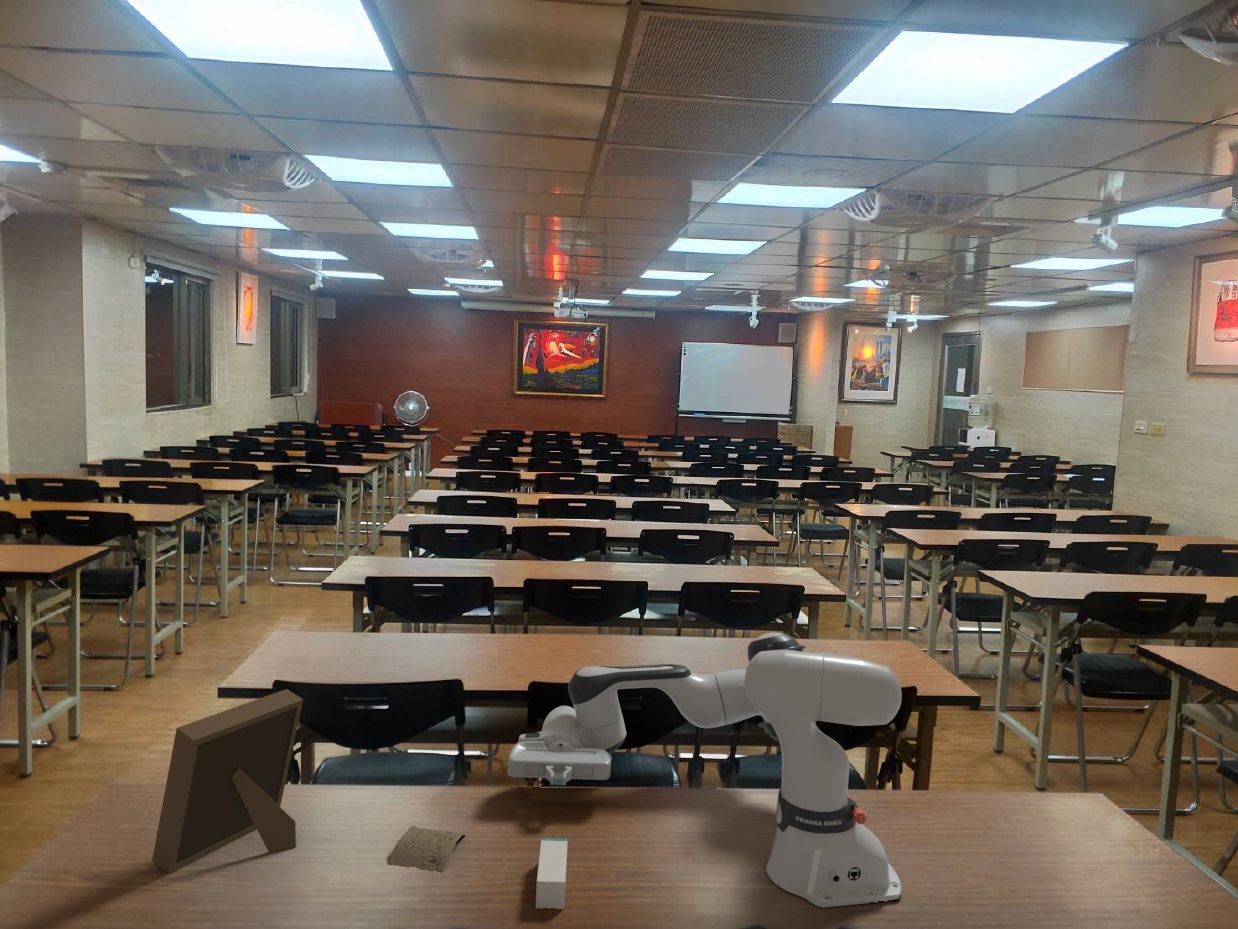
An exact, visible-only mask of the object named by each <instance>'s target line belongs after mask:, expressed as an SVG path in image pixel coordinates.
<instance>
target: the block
mask: <svg viewBox="0 0 1238 929" xmlns="http://www.w3.org/2000/svg"><path fill="white" fill-rule="evenodd" d="M540 839H541V841H540V849H539V858H538V868H537V877H536V891H535V892H536V893H535V894H536V895H535V909H544V908H548V909H547V910H550V909H551V908H555V909H554V910H565V901H566V899H565V897H566V883H567V881H566V880H567V863H568V862H567V860H568V843H569V841H568V840H569V839H568V838H553V837H552V838H551V837H541V838H540ZM538 907H539V908H538Z"/></svg>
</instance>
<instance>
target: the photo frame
mask: <svg viewBox="0 0 1238 929" xmlns="http://www.w3.org/2000/svg"><path fill="white" fill-rule="evenodd" d="M303 702H304V699H303V698H301V697H300V696H299V695H297V694H296V693H294V692H292V691H291V690H289V689H288V688H286V689H283V690H280V691H276V692H275V693H271V694H269V695H265V696H263V697H259V698H258V699H254V700H252V701H249V702H246V703H243V704H241V705H238V706H235V707H232V708H230V709H226V710H223V711H221V712H218V713H214V714H212V715H208V716H207V717H204V718H200V719H198V720H194V721H192V722H190V723H186V724H184V725H181V726H178V727H176V728H175V729H176V730H175V734H174V739H173V740H174V741H173V745H172V752H171V755H170V756H171V757H170V762H169V769H168V774H167V777H166V784H165V789H164V793H163V794H164V795H163V800H162V806H161V810H160V815H159V816H160V817H159V822H158V827H157V832H156V838H155V843H154V849H153V853H152V860H151V861H152V862H153V863H155V864H156V865H157V866H158V867H159V868H160V869H162V871H164V872H165V873H167V874H168V875H170V874H172V873H174V872H176V871H178V870H180V869H183V868H184V867H186V866H187V865H190V864H191V863H193V862H196V861H199V859H201V858H203V857H205V856H207V855H209V854H211V853H213V852H216V851H217V850H219V849H221V848H222V847H225V846H226V845H229V844H231V843H233V842H235V841H236V840H238V839H240V838H242V837H244V836H246V835H247V834H250V833H252V832H254V831H256V830H257V832H258V834H259V837H260V838H261V840H262V841H263V842H262V843H264V846H265V848H266V849H267V852H268V853H269V854H270V853H275V852H276V853H277V852H280V851H285V850H289V849H293V848H296V847H297V838H296V837H297V836H296V830H297V829H296V820H295V819H293V817H292V816H290V814H288V813H287V812H286V811H285V810H284V809H283V808H282V807H281V804H282V800H283V796H284V791H285V786H286V782H287V776H288V773H289V767H290V765H291V764H290V763H291V758H292V753H293V749H294V744H295V739H296V736H297V730H298V725H299V722H300V717H301V712H302V707H303Z"/></svg>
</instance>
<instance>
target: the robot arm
mask: <svg viewBox="0 0 1238 929" xmlns="http://www.w3.org/2000/svg"><path fill="white" fill-rule="evenodd" d="M804 649H807V648H806V646H805V645H800V644H799V642H798V641H797V640H796V639H795V637H793V636H791V635H789V634H788V633H782V632H776V631H775V632H767V633H764V634H760V635H759V636H757V637H756V638H755V639H754V640H753V641H751V642H750V643H749V645H748V646H747V660H748V662H749V663H747V664H748V665H747V666H746V668H737V669H736V668H735V669H729V670H722V671H718V672H712V673H705V674H704V673H696V672H693V671H691V670H690V669H689V668H688V667H687V666H685V665H682V664H677V663H675V664H674V663H671V664H670V663H669V664H665V663H663V664H644V665H643V664H641V665H640V664H639V665H626V666H624V665H621V666H611V665H610V666H609V665H608V666H607V665H592V666H591V665H590V666H586V667H582V668H578V670H576V671H575V672H574V673H573V675H572V676H571V678H570V680H569V683H568V686H567V691H568V694H569V698H570V700H571V703H572V705H573V707H572V706H568V705H560V706H558V707H556V708H554V709H553V710H551V711H550V712H549V713H548V715H547V716H546V717H545V719H544V721H543V725H542V729H541V731H537V732H532V733H524V734H523V733H522V734H520V735H519V736H518V742H516V744H514V745H513V746H512V748H511V750H510V753H509V755H508V757H507V758H508V759H507V775H508V776H509V777H511V778H525V779H527V778H528V779H529V778H530V779H531V778H532V779H546V780H547V781H548V782H550V786H566V784H567V782H569V781H571V780H592V781H594V780H595V781H596V780H597V781H606V780H608V779H609V778H611V767H612V766H611V765H612V763H611V762H612V760H613V758H612V754H613V753H615V751H617V750H618V749H619V748H620V747H621V745H622V744H624V742H625V739H626V738H627V735H628V734H627V730H626V725H625V721H624V717H623V716H624V715H623V713H622V709H621V706H620V701H619V697H618V691H619V690H625V689H643V688H644V689H645V688H655V689H659V690H661V691H663V692H664V693H665V694H666V695H667V696H668V697H669V698H670V700H672V702H673V704H674V705H675V706H676V707H677V709H678V711H679V712H680V714H681V716H683V717H684V718H685V719H686V721H688V723H690V724H692V725H693V726H696V727H698V728H700V729H712V728H713V729H714V728H719V727H722V726H727V725H731V724H735V723H738V722H742V721H743V720H747V719H750V718H752V717H755V716H761V717H762V720H763V722H759V723H758V724H757V726H758V727H759V728H762V729H763V730H764V731H765V733H766V734H767V735H768V736H769V737H770V738H772V739H773V740H774V741H776V742H779V745H780V749H781V750H780V751H781V786H780V788H779V790H778V795H777V801H776V809H775V810H776V812H775V813H776V814H775V820H776V831H775V837H774V842H773V846H772V848H771V851H770V852H771V853H770V856H769V858H768V860H767V862H766V865H765V870H766V873H767V876H768V877H769V879H770V880H771V881H772V882H773V883H774V884H775V885H777V886H778V887H780V888H781V889H783V891H786V892H788V893H791V894H794V895H796V896H798V897H801V898H803V899H805V900H807V901H808V902H810V903H811V904H812V905H814V906H816V907H818V908H830V907H831V908H832V907H841V906H850V905H851V906H852V905H853V906H854V905H861V904H862V905H863V904H871V903H870V902H874V903H879V902H878V901H882V900H887V899H888V900H889V899H892V898H898V897H900V895H901V896H902V894H901V891H902V883H901V879H900V878H899V876H898V874H897V871H895V869H894V867H892V865H891V864H890V863H889V861H888V856H887V853H886V850H885V848H884V846H883V844H882V842H881V841H880V840H879V838H878V837H877V836H876V835H875V834H874V833H873V832H872V831H871V830H870V829H869V828H867V827H866V826H865V825H864V824H865V822H867V820H868V818H867V817H868V816H867V815H866V814H865V812H864V810H863V809H862V808H860V807H858V803H857V802H856V801H855V800H854V799H852V797H851V796H850V795H849V794H848V789H849V778H850V777H849V775H850V765H851V764H850V759H849V756H848V754H847V752H846V751H845V749H844V748H843V747H842V745H840V744H839V743H838V741H836V740H834V739H833V738H832V737H829V735H826V733H824V732H823V731H821V730H820V729H819V727H818V726H817V721H819V722H827V723H828V722H829V723H834V724H840V725H841V724H842V725H849V726H854V727H856V726H857V727H858V726H859V727H861V726H862V727H863V726H881V725H882V726H883V725H888V724H889V723H890V722H891V721H893V720H894V718H895V717H896V716H897V714H898V711H899V710H900V707H901V704H902V697H903V696H902V695H903V694H902V693H903V692H902V688H901V687H902V686H901V683H900V681H899V679H898V677H897V674H896V673H895V672H894V671H893V670H892V669H891V667H890V666H888V665H884V664H880V663H878V662H874V661H871V660H868V659H864V658H861V657H854V656H849V655H848V656H847V655H842V654H835V653H830V652H827V651H814V652H813V651H812V652H810V651H809V652H808V651H804ZM894 886H895V887H894ZM900 898H901V897H900Z"/></svg>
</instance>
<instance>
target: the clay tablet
mask: <svg viewBox="0 0 1238 929" xmlns="http://www.w3.org/2000/svg"><path fill="white" fill-rule="evenodd" d="M462 836H464V834H463V833H461V832H454V831H446V830H438V829H432V828H423V827H418V826H415V825H412V826H411V825H410V827H409V828H408V829H407V831H406V832H404V833H403V835H401V837H400V838H399V840H398V841H397V843H396V844H395V845H394V848H393V850H392V854H391V855H390V858H389V862H388V866H396V867H404V868H410V867H416V868H419V869H418V870H422V871H427V870H428V872H433V871H437V872H436V873H438V872H440V873H439V874H442V873H443V871H444V870H445V868H446V867H447V863H448V860H449V858H450V856H451V855H452V852H453V851H454V849H455V847H456V845H457V842H458V841H459V839H461V837H462ZM410 869H411V868H410ZM425 869H426V870H425ZM441 872H442V873H441Z"/></svg>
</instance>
